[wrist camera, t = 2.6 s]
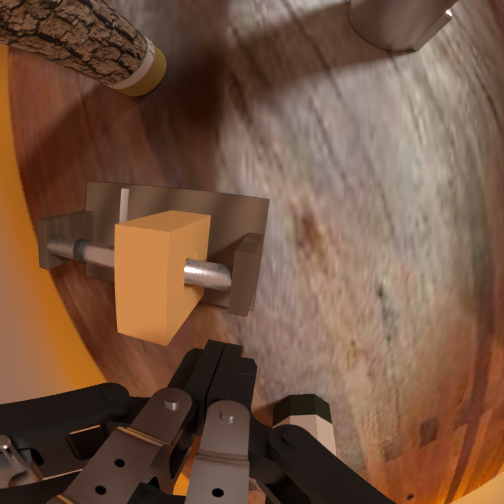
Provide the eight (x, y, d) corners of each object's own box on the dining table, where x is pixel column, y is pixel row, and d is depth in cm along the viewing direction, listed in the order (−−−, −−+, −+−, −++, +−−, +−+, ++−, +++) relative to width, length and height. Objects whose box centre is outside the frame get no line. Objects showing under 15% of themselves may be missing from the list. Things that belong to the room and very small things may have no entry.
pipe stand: (269, 199, 29) (262, 205, 19) (254, 305, 32) (241, 354, 22) (94, 181, 31) (37, 184, 21) (92, 272, 34) (42, 298, 24)
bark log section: (146, 106, 28) (-36, 33, 4) (111, 87, 28) (-49, 28, 4) (179, 60, 26) (40, -66, 2) (141, 44, 26) (7, -51, 2)
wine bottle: (285, 386, 34) (268, 611, 5) (340, 399, 34) (368, 602, 5) (264, 423, 36) (235, 609, 7) (314, 434, 36) (317, 609, 7)
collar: (211, 215, 26) (169, 232, 16) (203, 295, 28) (166, 346, 18) (171, 210, 26) (114, 224, 17) (166, 287, 28) (117, 332, 19)
